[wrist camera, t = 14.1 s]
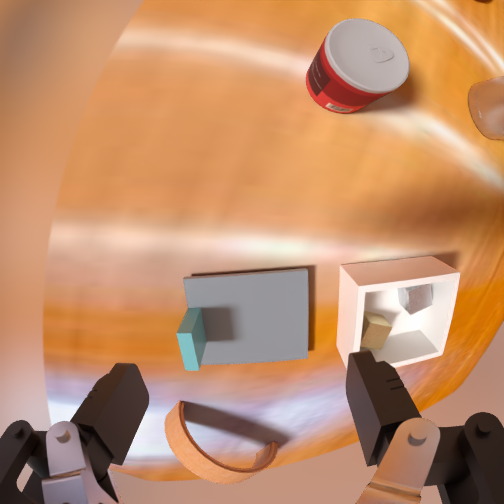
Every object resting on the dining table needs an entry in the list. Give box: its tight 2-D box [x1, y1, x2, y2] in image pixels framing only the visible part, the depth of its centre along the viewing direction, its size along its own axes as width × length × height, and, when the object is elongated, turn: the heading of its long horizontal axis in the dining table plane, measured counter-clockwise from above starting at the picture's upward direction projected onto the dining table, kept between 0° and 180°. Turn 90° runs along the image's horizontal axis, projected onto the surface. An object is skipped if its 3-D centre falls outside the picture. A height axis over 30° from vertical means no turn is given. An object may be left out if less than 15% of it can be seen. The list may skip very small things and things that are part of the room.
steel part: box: [397, 283, 432, 315], centre depth 33 cm, size 4×4×4 cm
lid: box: [177, 268, 308, 370], centre depth 33 cm, size 15×13×8 cm
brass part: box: [360, 311, 392, 350], centre depth 34 cm, size 4×4×4 cm
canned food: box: [306, 18, 410, 113], centre depth 23 cm, size 8×8×11 cm
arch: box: [165, 401, 278, 484], centre depth 38 cm, size 6×20×10 cm, turn 54°
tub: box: [336, 256, 460, 369], centre depth 32 cm, size 14×12×7 cm
